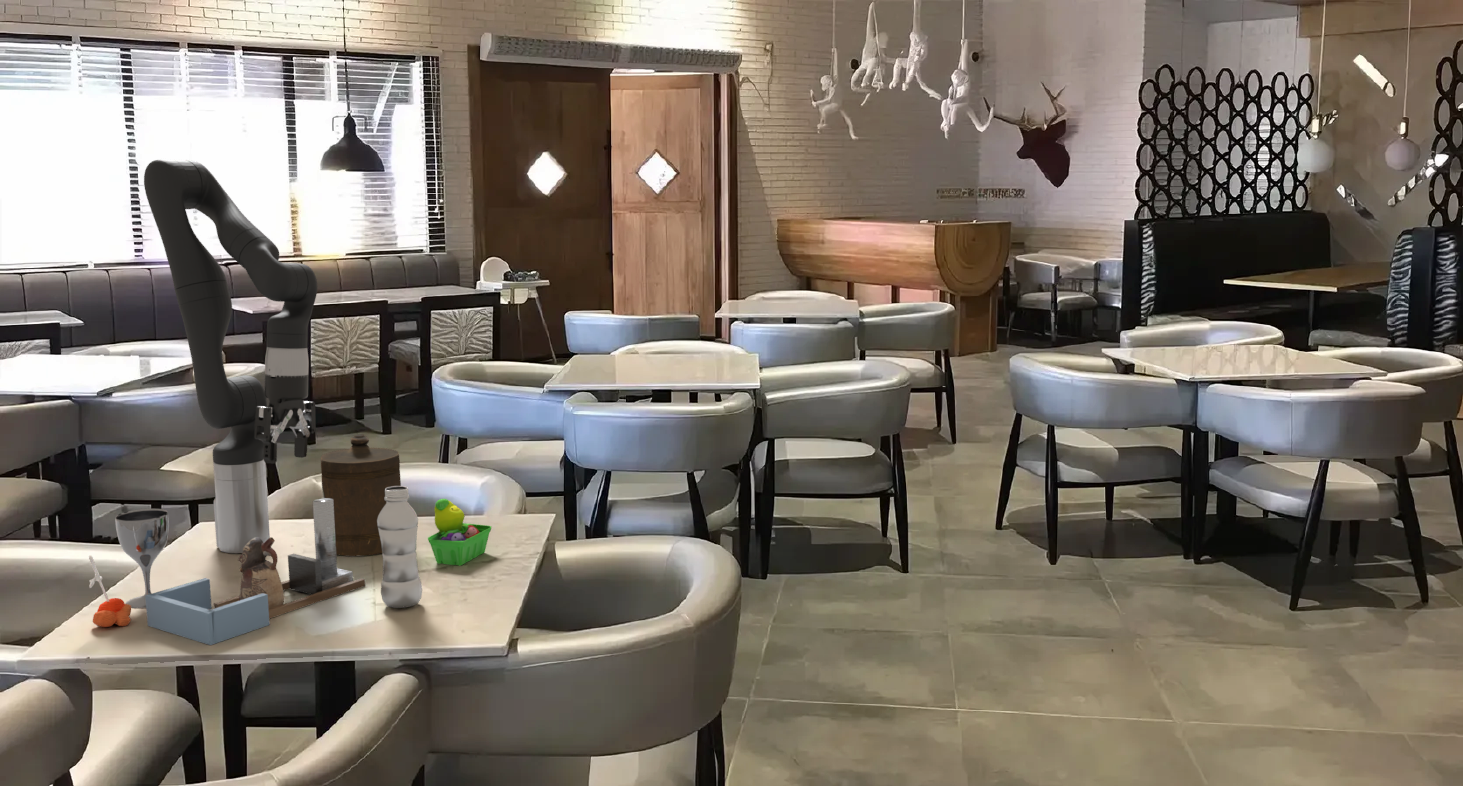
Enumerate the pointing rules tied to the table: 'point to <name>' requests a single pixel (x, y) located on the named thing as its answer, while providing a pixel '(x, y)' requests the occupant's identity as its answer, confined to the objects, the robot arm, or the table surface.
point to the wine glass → (143, 541)
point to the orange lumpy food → (109, 606)
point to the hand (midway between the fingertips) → (285, 460)
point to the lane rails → (305, 600)
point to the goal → (204, 613)
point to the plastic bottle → (399, 550)
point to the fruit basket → (456, 536)
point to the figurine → (260, 572)
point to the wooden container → (358, 493)
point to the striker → (319, 556)
